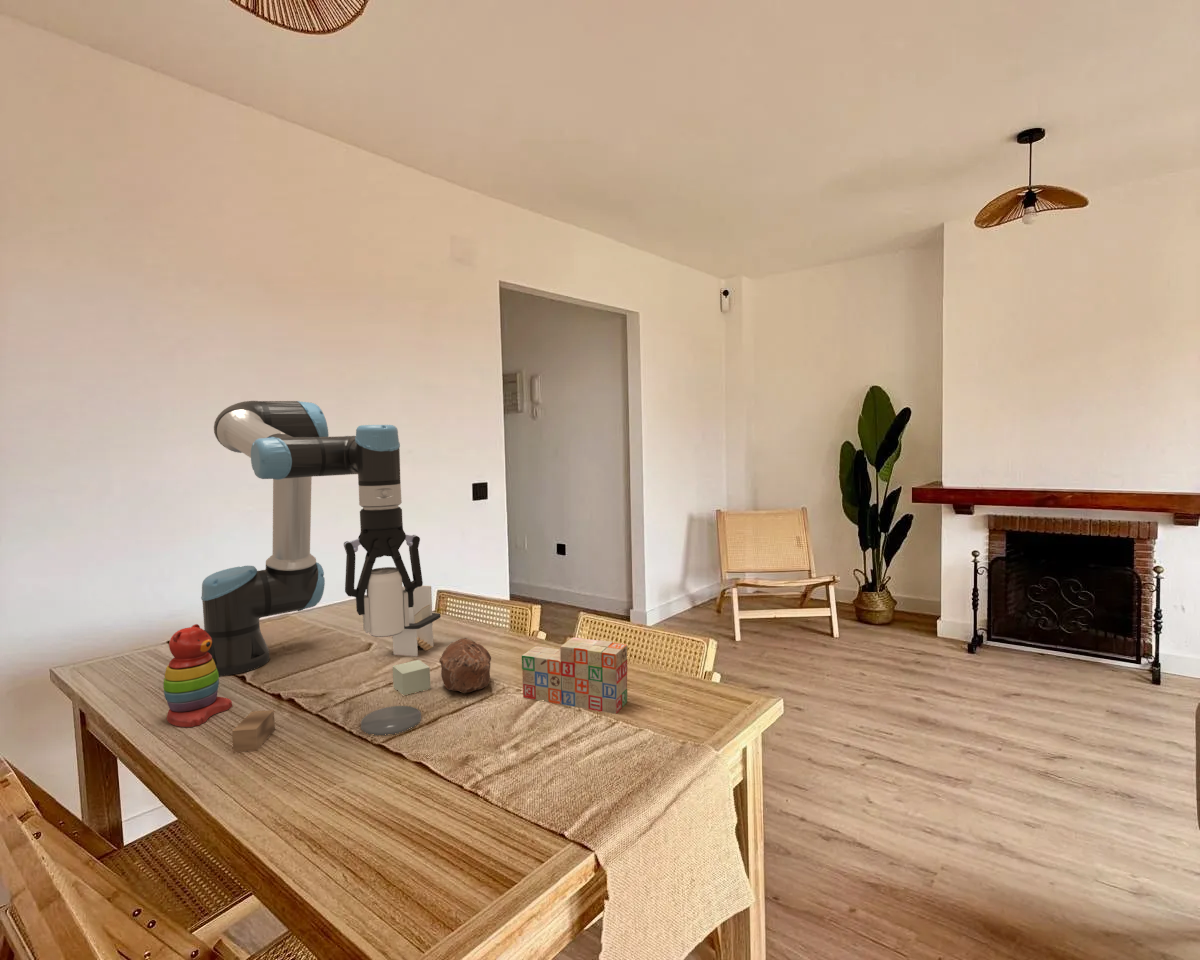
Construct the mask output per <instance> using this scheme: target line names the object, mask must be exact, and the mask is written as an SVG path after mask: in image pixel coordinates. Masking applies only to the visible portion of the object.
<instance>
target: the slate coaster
mask: <svg viewBox="0 0 1200 960" xmlns="http://www.w3.org/2000/svg"><path fill="white" fill-rule="evenodd" d="M421 720H422V713H421V710H419V709H418V708H416V707H414V706H409V705H393V706H387V707H382V708H378V709H376V710H373V711H371V712H370V713H367V714H366V715H365V716H364V717H363V718H362V719H361V721H360V728H361V731H362V730H363V731H364V732H363V731H362V732H363V733H365V732H366V733H365V734H367V733H368V734H367V735H370V734H374V735H373V736H378V735H383V736H389V735H388V734H392V735H396V734H395V733H397V734H400V733H399V732H401V733H403V732H402V731H404V732H406V731H405V730H407V729H409V728H411V727H413V728H415V727H416V726H417V725H418V724H419V723H420V722H421ZM415 725H416V726H415ZM414 726H415V727H414ZM411 729H412V728H411ZM409 730H410V729H409ZM407 731H408V730H407ZM385 734H386V735H385Z"/></svg>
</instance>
